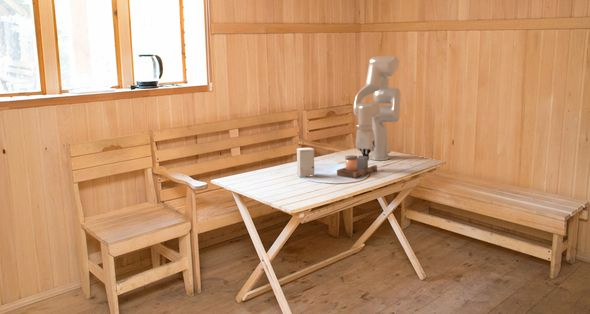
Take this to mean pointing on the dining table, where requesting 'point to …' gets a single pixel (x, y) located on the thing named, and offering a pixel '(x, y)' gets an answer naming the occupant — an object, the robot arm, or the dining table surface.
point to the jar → (351, 163)
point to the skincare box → (305, 162)
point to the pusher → (362, 162)
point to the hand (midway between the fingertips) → (365, 160)
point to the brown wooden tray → (356, 174)
